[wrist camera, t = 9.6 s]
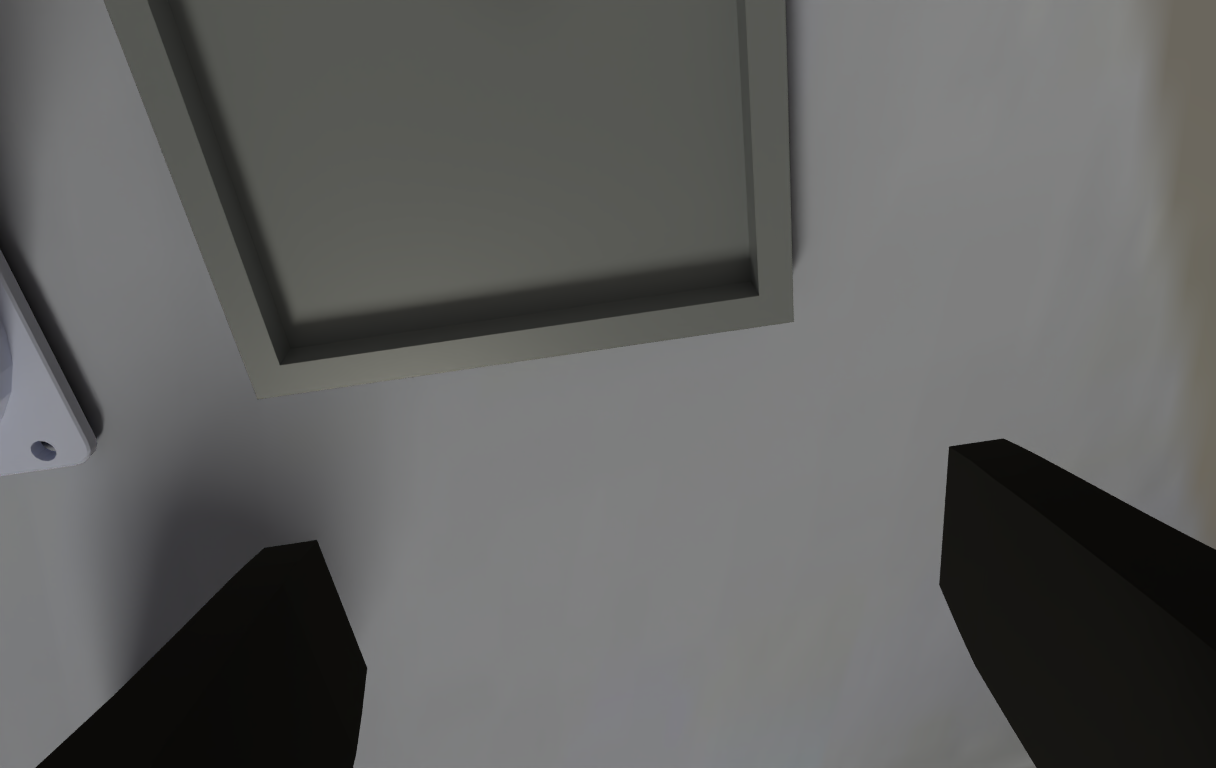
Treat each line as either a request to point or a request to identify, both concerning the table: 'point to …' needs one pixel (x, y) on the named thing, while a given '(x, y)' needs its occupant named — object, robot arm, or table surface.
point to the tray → (471, 174)
